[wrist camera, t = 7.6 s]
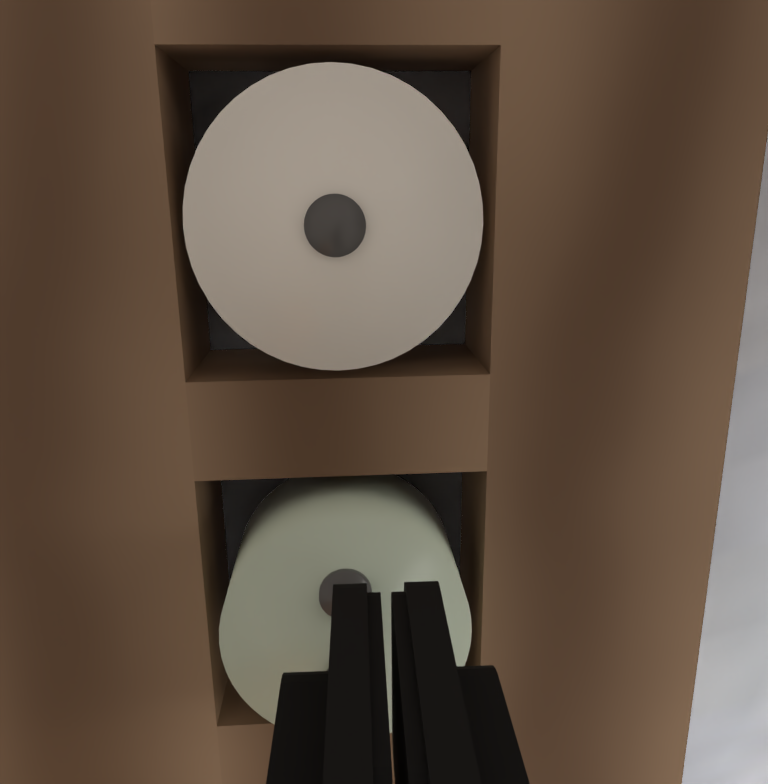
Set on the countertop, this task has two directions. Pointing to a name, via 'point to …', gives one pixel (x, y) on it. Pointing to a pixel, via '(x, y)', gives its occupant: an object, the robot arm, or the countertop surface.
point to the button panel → (373, 371)
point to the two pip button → (328, 576)
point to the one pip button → (332, 216)
